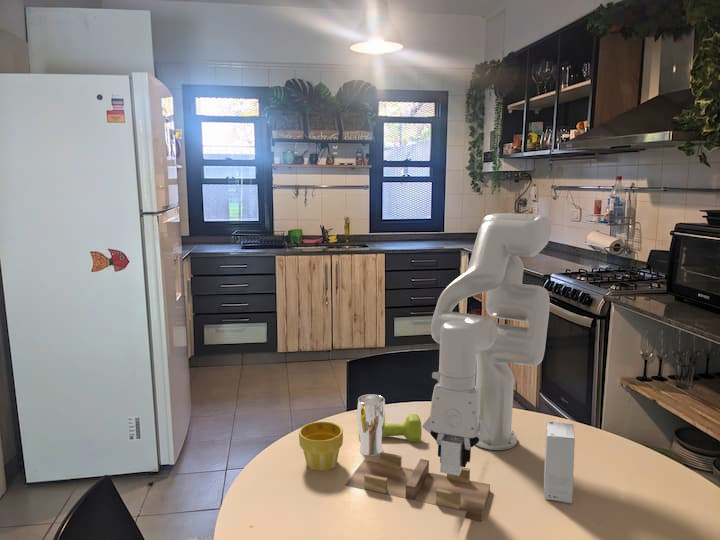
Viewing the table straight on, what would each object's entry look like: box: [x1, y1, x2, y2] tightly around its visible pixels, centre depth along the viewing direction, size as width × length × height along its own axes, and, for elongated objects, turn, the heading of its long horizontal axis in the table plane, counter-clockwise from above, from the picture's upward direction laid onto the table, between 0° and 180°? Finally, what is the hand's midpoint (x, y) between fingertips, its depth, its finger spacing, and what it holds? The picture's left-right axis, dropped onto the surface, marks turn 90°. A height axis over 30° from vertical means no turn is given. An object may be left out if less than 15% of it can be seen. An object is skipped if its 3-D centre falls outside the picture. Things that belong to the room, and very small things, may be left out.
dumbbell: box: [358, 413, 423, 443], centre depth 147 cm, size 16×8×7 cm, turn 91°
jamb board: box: [344, 451, 491, 522], centre depth 125 cm, size 12×30×4 cm, turn 69°
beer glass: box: [356, 393, 386, 457], centre depth 139 cm, size 7×7×15 cm
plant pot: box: [298, 420, 344, 471], centre depth 134 cm, size 10×10×10 cm
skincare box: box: [543, 421, 576, 505], centre depth 124 cm, size 8×6×15 cm
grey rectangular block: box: [439, 435, 464, 476], centre depth 120 cm, size 8×4×7 cm, turn 159°
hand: (453, 461), depth 121 cm, fingers closed on grey rectangular block, 4 cm apart
